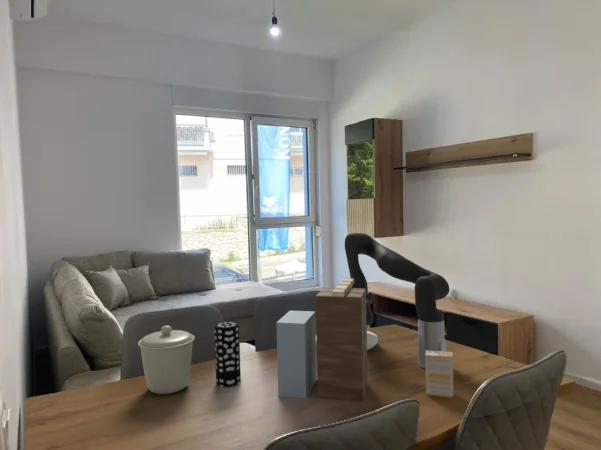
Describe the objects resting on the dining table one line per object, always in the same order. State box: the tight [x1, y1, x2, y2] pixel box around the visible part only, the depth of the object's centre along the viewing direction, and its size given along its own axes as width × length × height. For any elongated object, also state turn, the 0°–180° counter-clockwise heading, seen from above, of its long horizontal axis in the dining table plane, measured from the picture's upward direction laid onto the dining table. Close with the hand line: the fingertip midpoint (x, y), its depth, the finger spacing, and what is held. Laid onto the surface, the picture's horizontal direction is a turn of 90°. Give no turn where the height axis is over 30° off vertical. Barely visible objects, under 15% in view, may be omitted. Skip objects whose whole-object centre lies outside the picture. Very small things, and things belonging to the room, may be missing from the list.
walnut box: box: [315, 287, 368, 403], centre depth 145 cm, size 14×14×32 cm
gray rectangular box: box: [275, 310, 317, 399], centre depth 149 cm, size 16×9×24 cm, turn 166°
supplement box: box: [424, 350, 454, 399], centre depth 141 cm, size 8×5×13 cm, turn 71°
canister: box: [137, 325, 195, 395], centre depth 151 cm, size 18×18×21 cm
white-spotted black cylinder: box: [213, 320, 242, 388], centre depth 155 cm, size 8×8×20 cm
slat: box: [332, 277, 354, 297], centre depth 149 cm, size 24×4×2 cm, turn 166°
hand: (350, 291), depth 166 cm, fingers open, 8 cm apart
